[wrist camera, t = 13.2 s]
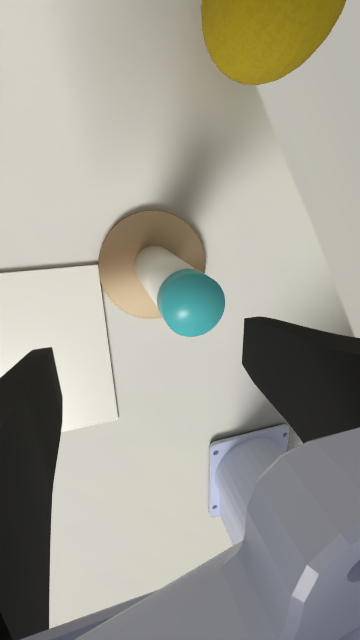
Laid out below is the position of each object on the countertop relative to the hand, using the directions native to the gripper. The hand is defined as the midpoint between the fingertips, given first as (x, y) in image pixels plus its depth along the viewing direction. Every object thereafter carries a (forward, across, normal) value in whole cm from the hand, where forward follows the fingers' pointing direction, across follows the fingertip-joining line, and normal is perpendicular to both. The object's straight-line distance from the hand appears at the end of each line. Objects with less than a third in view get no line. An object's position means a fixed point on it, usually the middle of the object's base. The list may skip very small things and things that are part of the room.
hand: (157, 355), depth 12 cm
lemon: (+10, -7, -13) cm, 18 cm away
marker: (+10, -2, -1) cm, 10 cm away
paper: (+10, +6, +4) cm, 12 cm away
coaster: (+10, -2, -1) cm, 10 cm away
